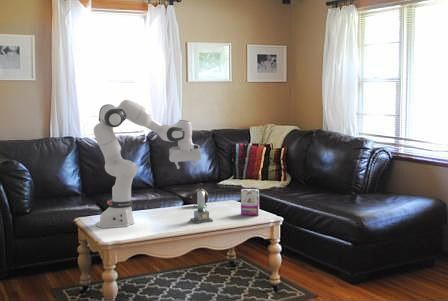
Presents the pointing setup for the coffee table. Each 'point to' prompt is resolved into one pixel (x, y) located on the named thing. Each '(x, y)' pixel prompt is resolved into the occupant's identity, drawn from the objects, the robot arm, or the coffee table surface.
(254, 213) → the candy bar box
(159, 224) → the coffee table surface
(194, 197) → the alarm clock
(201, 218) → the stand
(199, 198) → the column
